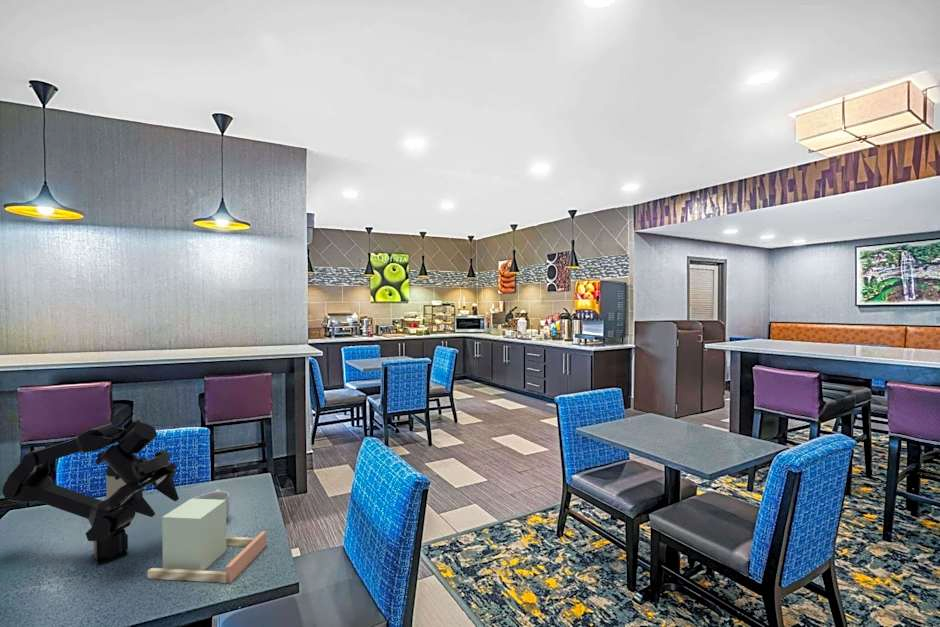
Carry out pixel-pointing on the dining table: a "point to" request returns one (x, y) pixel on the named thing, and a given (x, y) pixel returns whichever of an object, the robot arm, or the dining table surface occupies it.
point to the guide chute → (232, 571)
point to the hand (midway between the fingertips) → (165, 507)
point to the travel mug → (112, 482)
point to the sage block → (194, 534)
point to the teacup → (217, 497)
